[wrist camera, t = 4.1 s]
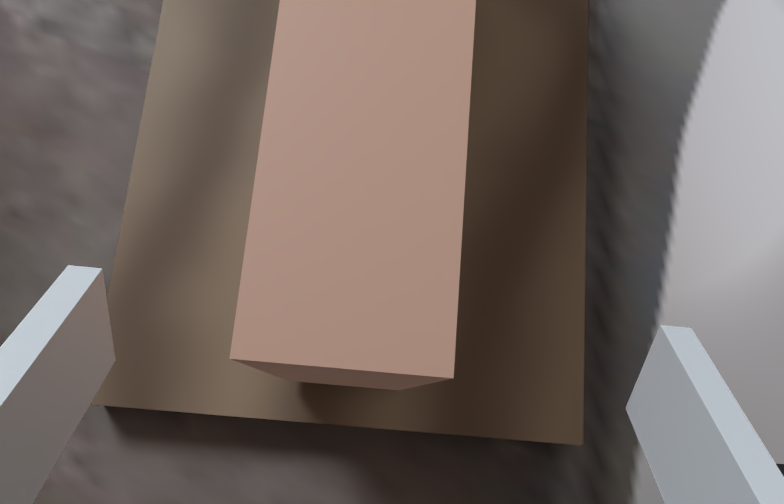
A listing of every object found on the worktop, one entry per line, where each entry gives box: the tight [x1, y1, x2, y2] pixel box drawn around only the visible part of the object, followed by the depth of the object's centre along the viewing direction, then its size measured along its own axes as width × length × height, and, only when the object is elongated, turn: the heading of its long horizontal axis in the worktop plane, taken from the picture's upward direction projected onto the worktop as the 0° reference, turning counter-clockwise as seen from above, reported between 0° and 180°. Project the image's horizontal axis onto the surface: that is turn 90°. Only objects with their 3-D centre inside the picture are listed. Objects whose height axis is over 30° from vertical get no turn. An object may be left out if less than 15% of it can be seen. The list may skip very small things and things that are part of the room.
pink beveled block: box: [229, 0, 476, 390], centre depth 18 cm, size 4×8×12 cm, turn 175°
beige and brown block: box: [90, 0, 589, 446], centre depth 21 cm, size 18×26×14 cm
